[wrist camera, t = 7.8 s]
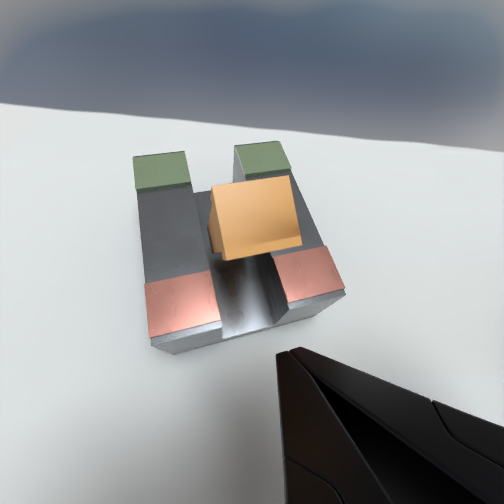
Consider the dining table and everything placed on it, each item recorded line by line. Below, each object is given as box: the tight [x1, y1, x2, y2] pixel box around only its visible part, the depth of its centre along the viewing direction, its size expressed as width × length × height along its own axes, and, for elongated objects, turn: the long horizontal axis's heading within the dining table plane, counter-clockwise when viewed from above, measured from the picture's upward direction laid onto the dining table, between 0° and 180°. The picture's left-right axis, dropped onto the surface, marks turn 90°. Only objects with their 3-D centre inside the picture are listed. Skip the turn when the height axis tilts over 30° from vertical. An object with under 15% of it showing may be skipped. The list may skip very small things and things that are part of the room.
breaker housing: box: [133, 141, 346, 355], centre depth 16 cm, size 11×10×5 cm
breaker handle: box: [207, 175, 302, 261], centre depth 11 cm, size 2×2×8 cm
